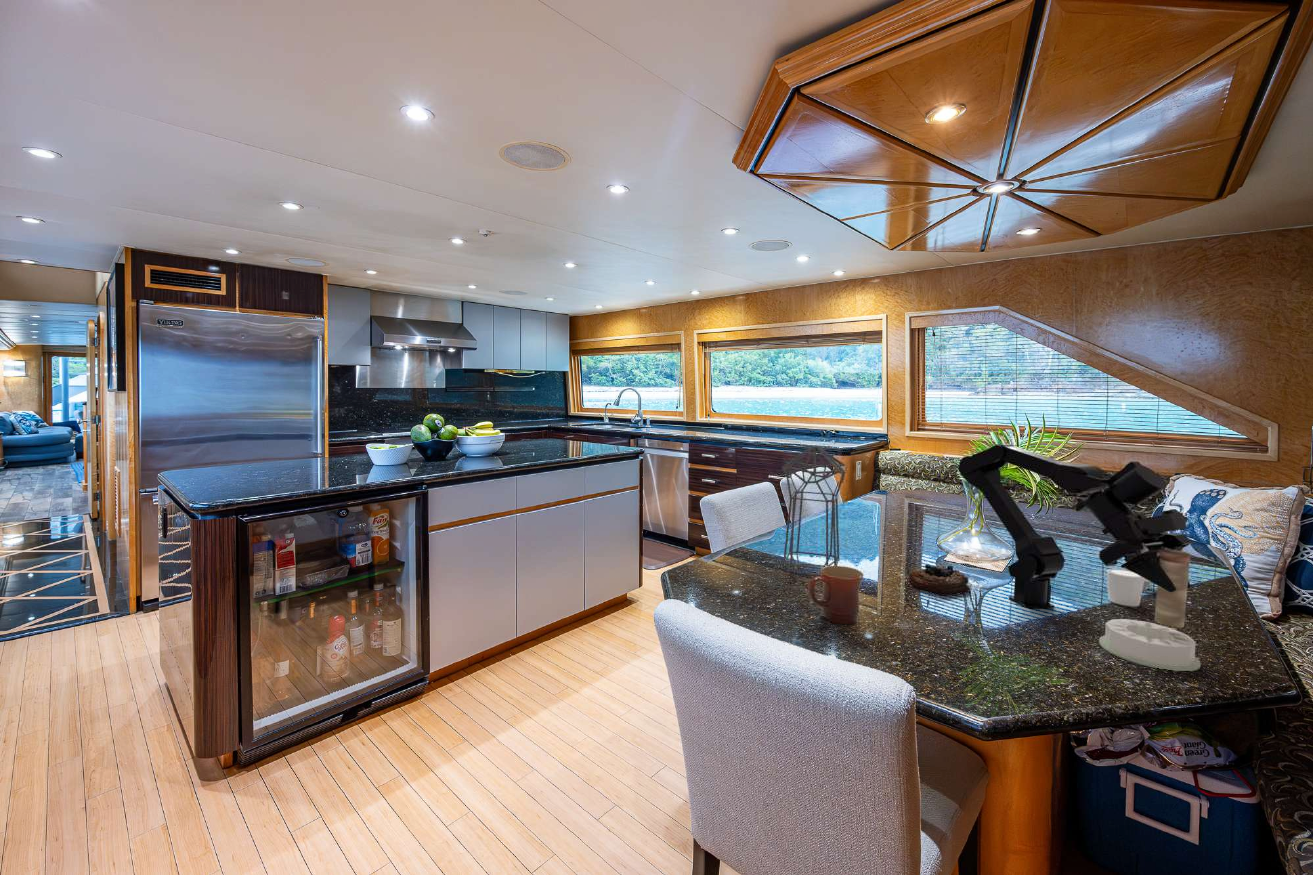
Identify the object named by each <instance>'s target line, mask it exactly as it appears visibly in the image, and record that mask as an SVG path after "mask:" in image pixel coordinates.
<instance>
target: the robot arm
mask: <svg viewBox="0 0 1313 875" xmlns="http://www.w3.org/2000/svg"><path fill="white" fill-rule="evenodd" d="M1007 464H1010V465H1012V466H1015V467H1018V468H1021V469H1023V470H1027V471H1030V472H1032V473H1034V474H1037V475H1040V476H1043V477H1045V478H1047V479H1049V480H1050V481H1051V482H1052V483H1053V484H1054V485H1056V486H1057V487H1059V488H1060V489H1062V490H1064V491H1066V492H1068V493H1070V494H1088V493H1091V494H1090V495H1088V496H1087V497H1079V498H1076V506H1075V509H1074V510H1075V511H1076V512H1086V511H1087V512H1088V511H1090V512H1091V514H1092V515H1093V516H1094V517H1095V518H1096V519H1097V521H1098V522H1099V524H1101V526H1102V527H1103V529H1102V530H1101V532H1102V533H1103V534H1104V535H1105V536H1108V535H1110V536H1111V537H1112V538H1113V539H1114V542H1113V543H1111V544H1110V545H1108V546H1106V547H1105V548H1102V550H1100V551H1099V556H1098V559H1100V562H1102V563H1103V565H1105V567H1111V566H1116V565H1117V564H1118V561H1119V560H1121V559H1123V560H1124V562H1125V563H1123V564H1121V565H1120V567H1121V569H1123V568H1125V569H1127V570H1129V571H1131V572H1133V573H1135V574H1137V575H1139V576H1141V577H1143V578H1145V579H1147V580H1149V581H1151V582H1152V583H1153V584H1155V585H1156V586H1157V585H1158V586H1160V587H1162V588H1163V589H1165V590H1167V591H1169V592H1174V591H1176V590H1177V589H1176V587H1175V586H1174V584H1173V583H1172V581H1171V580H1170V578H1169V577H1168V576H1167V574H1166V573H1165V572H1164V570H1163V569H1162V568H1161V566H1160V565H1159V562H1160V558H1159V557H1160V550H1161V549H1170V550H1178V551H1183V550H1184V549H1185V548H1186V547H1188V546H1190V545H1192V544H1193V542H1192V540H1191V539H1190V538H1189V537H1188V536H1187V535H1186V534H1184V533H1180V532H1175V531H1185V530H1188V526H1187V522H1188V521H1189V518H1188V516H1185V515H1184V513H1183V512H1180V511H1179V510H1178V509H1176V508H1174V509H1172V508H1171V509H1168V510H1162V511H1161V514H1159V515H1156V516H1155V515H1154V516H1150V517H1147V516H1146V515H1145V514H1144V513H1135V512H1134V511H1133V509H1132V508H1131V507H1130V506H1129V504H1131V505H1136V506H1138V505H1140V504H1142V503H1144V502H1145V501H1147V500H1148V499H1150V498H1151V497H1153V496H1155V495H1156V494H1158V493H1159V492H1161V491H1163V490H1164V489H1166V488H1167V483H1166V480H1165V478H1163V476H1162V475H1161V474H1160V473H1158V472H1156V471H1154V470H1153V469H1151V468H1149V467H1147V466H1145V465H1142V464H1141V462H1140V461H1130V462H1128V463H1127V464H1126V465H1124V467H1123V468H1121V469H1120V470H1119V471H1118V472H1116V473H1115V474H1112V473H1107V472H1104V470H1103V469H1102V468H1101V467H1099V466H1096V465H1091V464H1085V463H1079V462H1078V463H1077V462H1069V461H1068V462H1067V461H1061V460H1058V459H1055V458H1052V457H1049V456H1045V455H1042V454H1040V453H1037V452H1034V451H1031V450H1027V449H1025V448H1022V447H1019V446H1016V445H1015V444H1012V443H997V444H995V445H993V446H990V447H989V448H987V449H984V450H982V451H979V452H976V453H974V454H972V455H966V456H964V457H962V458H961V459H960V461H959V463H958V468H957V469H958V472H959V475H960V476H961V477H962V478H964V480H965V481H966V482H967V483H968V484H969V485H971V486H973V487H974V488H976V490H979V491H980V492H981V493H982V495H983V496H984V498H985V500H986V501H987V502H988V504H989V505H990V507H991V508H992V510H993V511H994V513H995V514H996V515H997V517H998V518H999V520H1000V522H1001V524H1002V525H1003V526H1004V527H1005V529H1006V531H1007V532H1008V534H1009V535H1010V536H1011V538H1012V540H1013V541H1014V547H1015V551H1014V552H1015V555H1016V558H1017V560H1016V561H1014V562H1013V563H1011V565H1008V567H1007V568H1008V572H1009V576H1010V577H1013V578H1014V587H1013V588H1014V589H1013V590H1014V591H1013V595H1009V596H1008V599H1009V600H1011V601H1013V602H1016V603H1017V604H1019V605H1021V606H1024V607H1025V608H1027V609H1046V608H1047V609H1050V608H1051V609H1052V608H1055V605H1054V604H1053V603H1051V602H1052V601H1051V599H1052V598H1051V597H1052V596H1051V595H1052V584H1051V579H1056V577H1057V575H1058V573H1060V572H1061V571H1062V570H1063V569H1064V566H1065V562H1066V559H1065V557H1064V555H1063V554H1062V553H1064V550H1063V549H1061V548H1060V547H1059V546H1058V544H1057V542H1056V541H1055V539H1054V538H1053V536H1042V535H1041V534H1038V532H1037V531H1035V529H1034V528H1033V526H1032V524H1031V523H1030V521H1029V520H1028V519H1027V517H1026V516H1025V514H1024V512H1023V511H1022V510H1021V509H1020V507H1019V506H1018V505H1017V503H1016V502H1015V500H1014V499H1013V498H1012V496H1011V495H1010V493H1009V491H1007V489H1006V488H1005V486H1004V485H1003V483H1002V479H1001V478H1002V477H1001V476H1002V475H1001V470H1000V469H1001V468H1004V467H1005V466H1006V465H1007ZM1104 488H1106V489H1104ZM1102 489H1104V490H1102ZM1168 532H1172V533H1168ZM1152 583H1151V584H1152ZM1191 588H1192V585H1191V583H1190V581H1189V580H1188V586H1187V590H1189V589H1191Z"/></svg>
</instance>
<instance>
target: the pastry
mask: <svg viewBox="0 0 1313 875" xmlns="http://www.w3.org/2000/svg"><path fill="white" fill-rule="evenodd" d="M908 577H909V584H910V585H911V586H912V585H913V587H914V588H916V589H918V590H921V591H924V592H927V593H929V594H934V595H937V596H940V597H948V596H953V595H959V594H958V593H960V594H964V593H966V592H968V593H969V591H970V589H971V588H970V586H969V585H968V584H969V577H968V576H966V575H965V573H962V572H960V570H959V569H958V570H957V569H954V566H953V565H948V566H946V567H945V566H943V565H941V564H938V565H931V564H930V563H927V564H925V565H924V568H916V569H912V571H911V572H910V573H909V576H908ZM947 595H948V596H947Z"/></svg>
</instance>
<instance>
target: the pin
mask: <svg viewBox="0 0 1313 875" xmlns="http://www.w3.org/2000/svg"><path fill="white" fill-rule="evenodd" d="M1191 557H1192V556H1191V553H1189V552H1186V551H1183V550H1181V551H1178V550H1170V549H1161V550H1160V557H1159V558H1160V562H1159V565H1160V566H1161V568H1162V569H1163V570H1164V572H1165V573H1166V574H1167V576H1168V577H1169V578H1170V580H1171V581H1172V583H1173V584H1174V586H1175V587H1176V589H1177V590H1176V591H1174V592H1169V591H1167V590H1165V589H1163V588H1162V587H1160V586H1158V585H1156V587H1157V588H1156V599H1155V609H1154V610H1155V611H1154V621H1155V622H1156V623H1157V624H1159V625H1162V626H1165V627H1170V628H1177V629H1178V628H1184V626H1185V618H1186V608H1187V596H1188V589H1187V586H1188V581H1189V576H1190V575H1189V574H1190V564H1191Z"/></svg>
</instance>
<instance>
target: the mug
mask: <svg viewBox="0 0 1313 875" xmlns="http://www.w3.org/2000/svg"><path fill="white" fill-rule="evenodd" d="M819 572H820V573H819V574H821V576H817V575H816V576H813V577H812V578H810V579H809V580H808V581H809V582H808V586H807V587H808V588H807V590H808V595H809V597H810V600H811V602H813V603H814V604H816V605H818V606H820V607H821V609H822V610H821V611H822V615H823V617H824V618H825V619H826V620H827V621H829V622H831V623H834V624H839V625H850V624H853V623H855V622H857V620H858V617H859V612H860V586H861V583H862V580H863V578H864V573H863V572H862V571H860V570H858V569H857V568H853V567H850V566H841V565H837V566H834V565H831V566H827V567H821V569H819ZM819 581H820V582H823V583H822V586H823V587H822V599H817V598H816V592H815V585H816V584H817V583H816V582H819Z"/></svg>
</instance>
